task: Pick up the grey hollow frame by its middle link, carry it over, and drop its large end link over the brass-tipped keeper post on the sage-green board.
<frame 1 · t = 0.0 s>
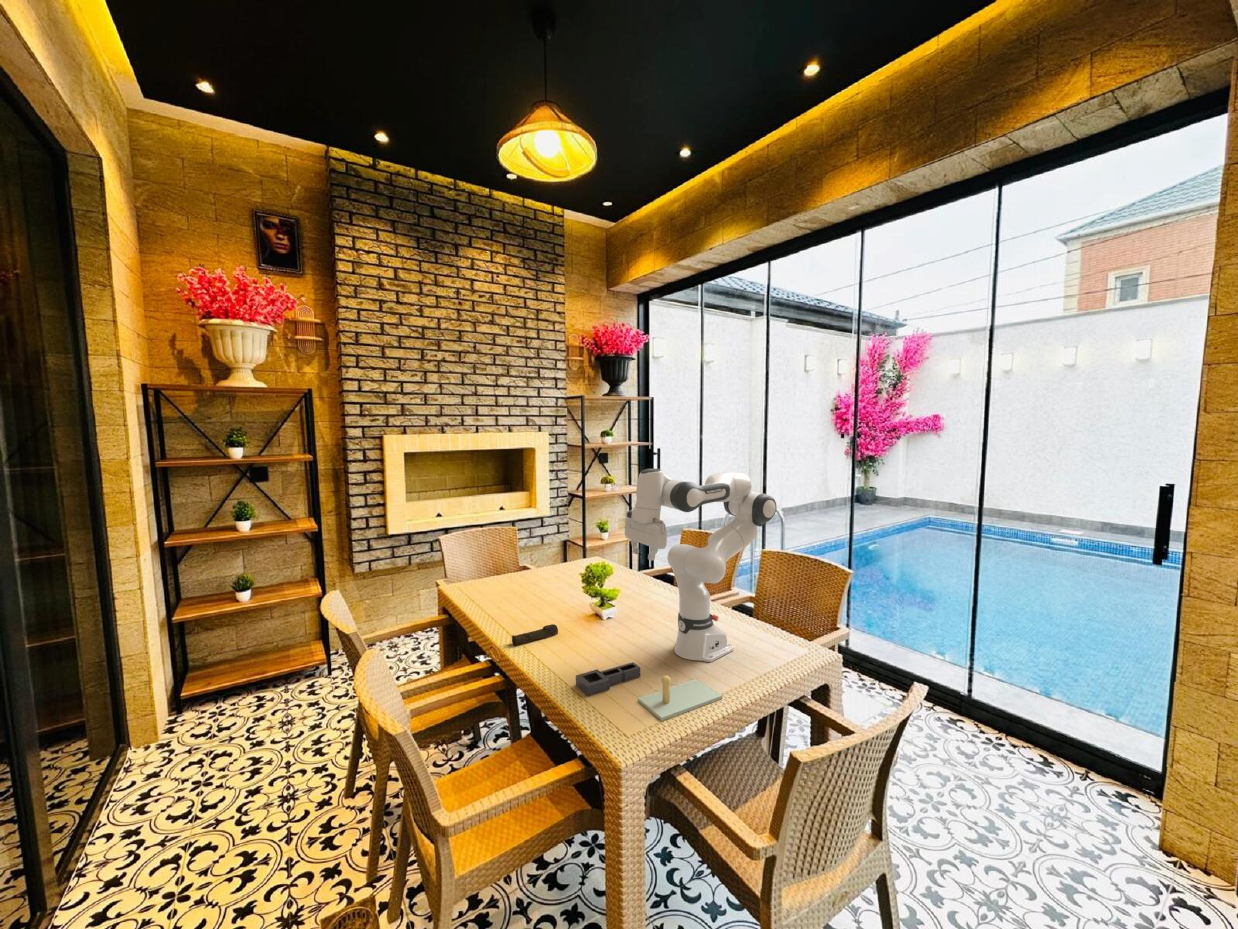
hand: (643, 556, 169), 39 cm above the table, tool pointing down, fingers open, 8 cm apart
grey hollow frame: (592, 687, 158), on the table
hand tool: (535, 640, 194), on the table
keeper board: (680, 699, 151), on the table
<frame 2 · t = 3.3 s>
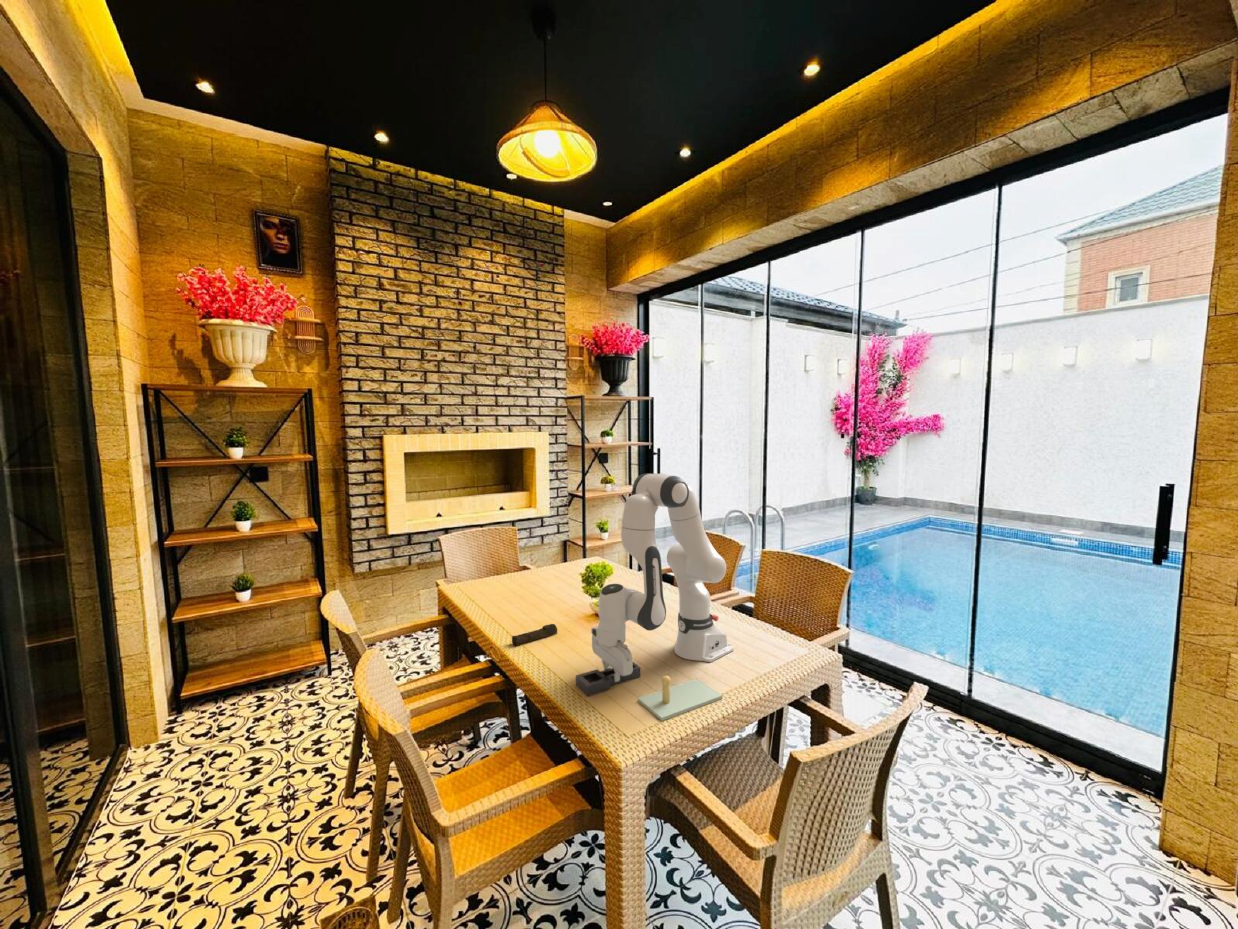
hand: (611, 676, 162), 2 cm above the table, tool pointing down, fingers closed on grey hollow frame, 4 cm apart
grey hollow frame: (592, 687, 158), on the table, touching gripper
everything else where it was.
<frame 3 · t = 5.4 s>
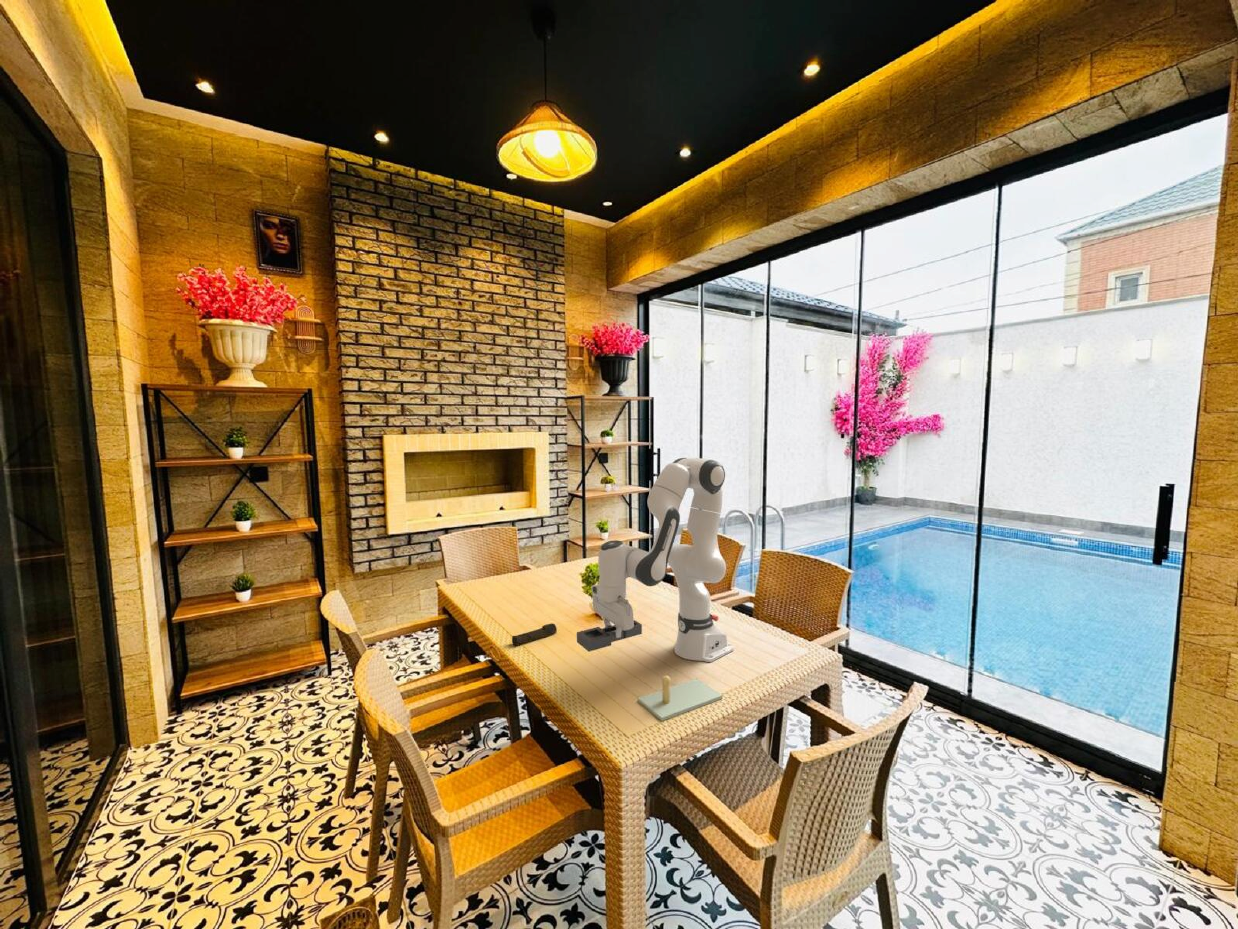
hand: (612, 633, 161), 16 cm above the table, tool pointing down, fingers closed on grey hollow frame, 4 cm apart
grey hollow frame: (593, 643, 157), point 14 cm above the table, touching gripper
everything else where it was.
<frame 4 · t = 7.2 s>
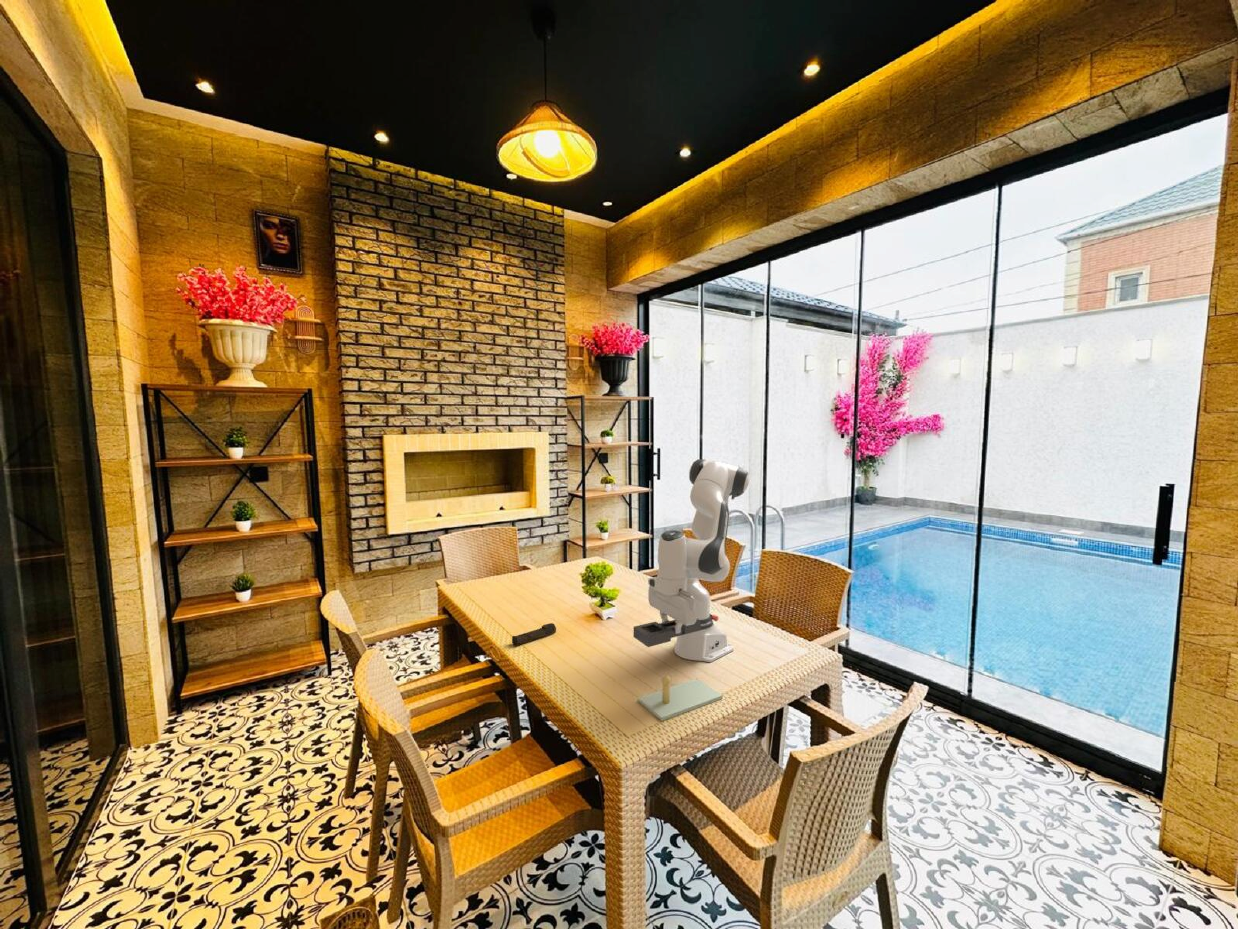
hand: (671, 629, 152), 21 cm above the table, tool pointing down, fingers closed on grey hollow frame, 4 cm apart
grey hollow frame: (651, 639, 149), point 19 cm above the table, touching gripper
everything else where it was.
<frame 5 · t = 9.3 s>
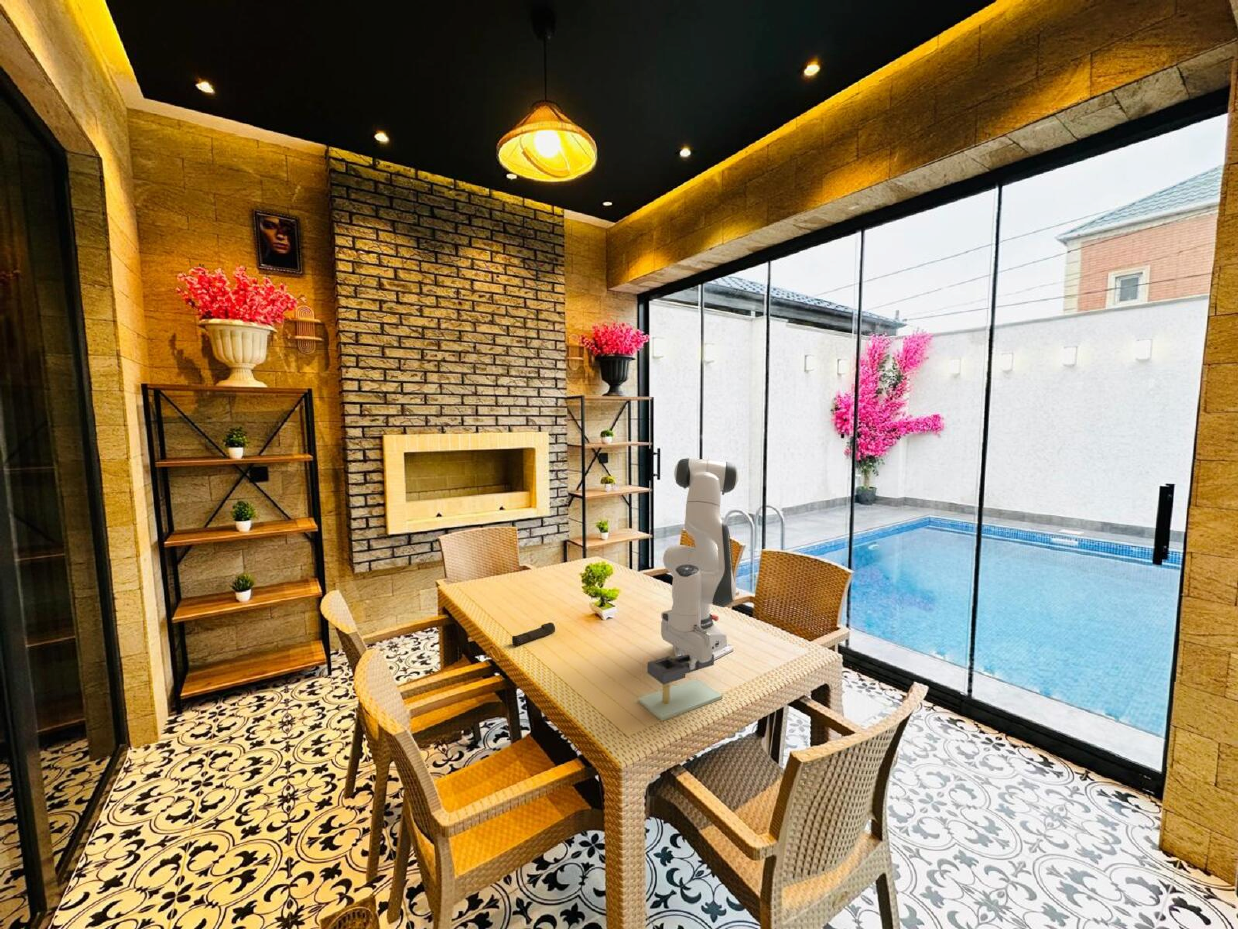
hand: (685, 664, 151), 11 cm above the table, tool pointing down, fingers closed on grey hollow frame, 4 cm apart
grey hollow frame: (666, 675, 147), point 9 cm above the table, touching gripper
when the fingers open (4 cm above the table, at t = 11.1 s): grey hollow frame stays where it is, resting on keeper board.
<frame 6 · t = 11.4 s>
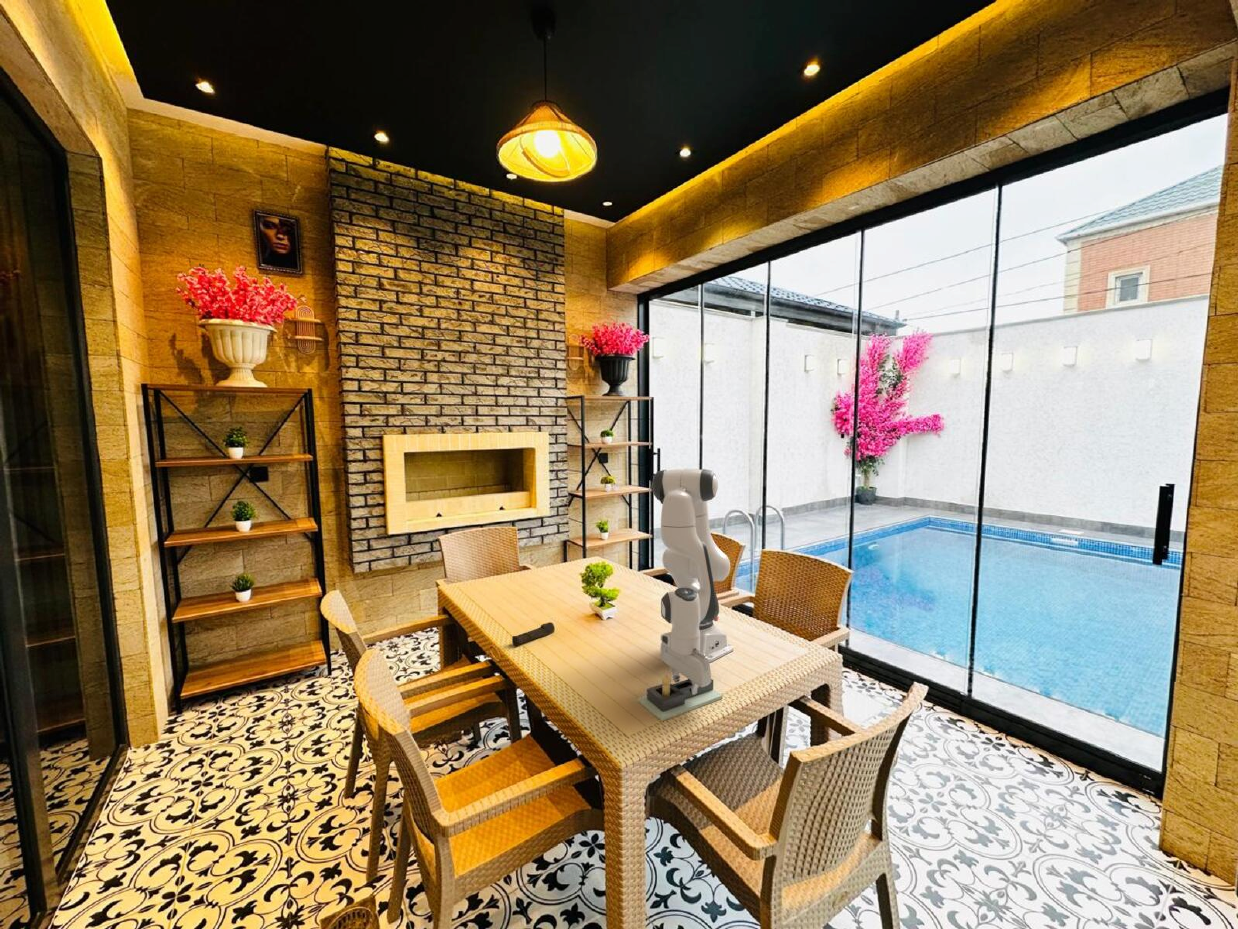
hand: (684, 687, 152), 4 cm above the table, tool pointing down, fingers open, 7 cm apart
grey hollow frame: (665, 701, 148), point 1 cm above the table, touching keeper board
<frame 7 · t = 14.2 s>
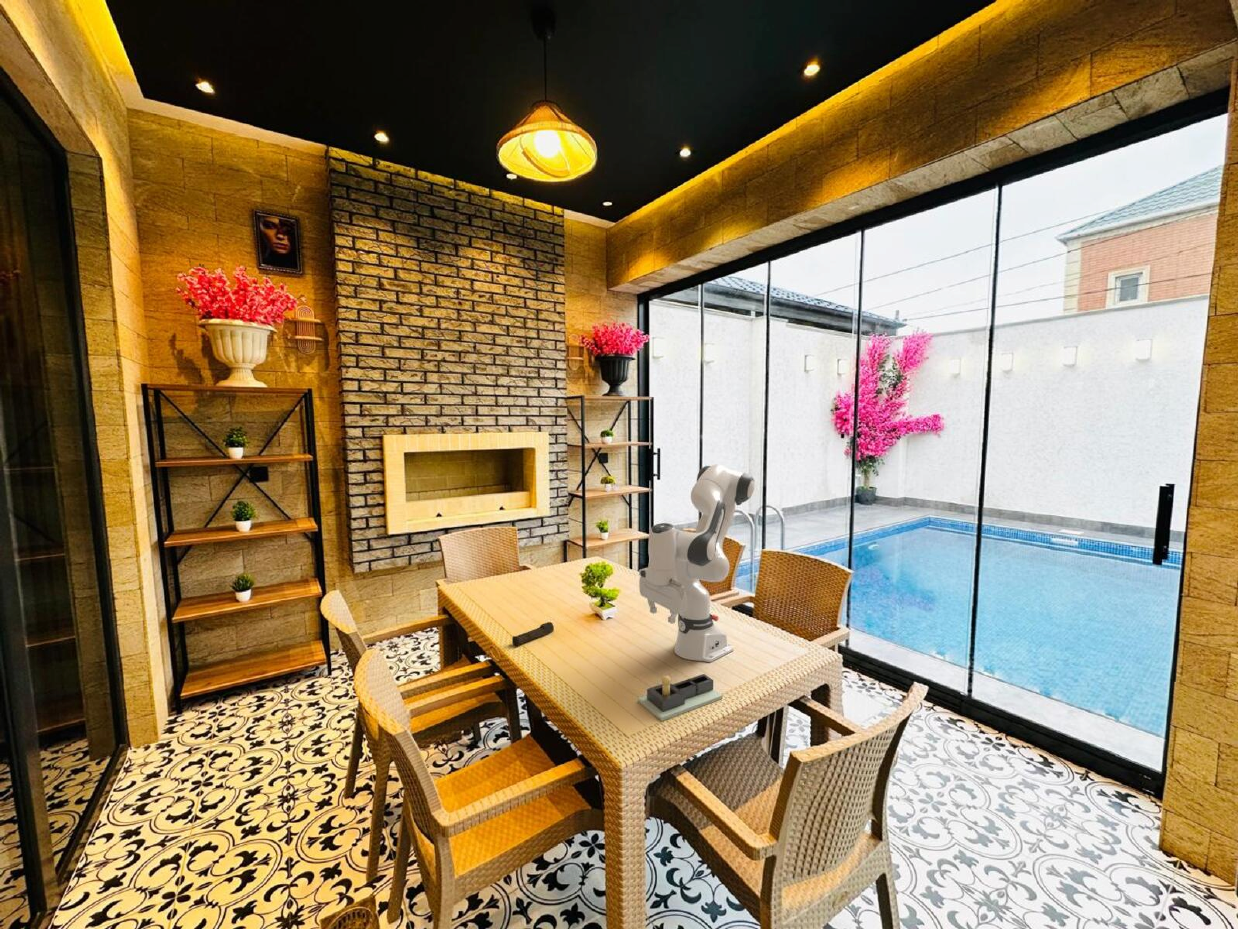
hand: (662, 617, 159), 22 cm above the table, tool pointing down, fingers open, 8 cm apart
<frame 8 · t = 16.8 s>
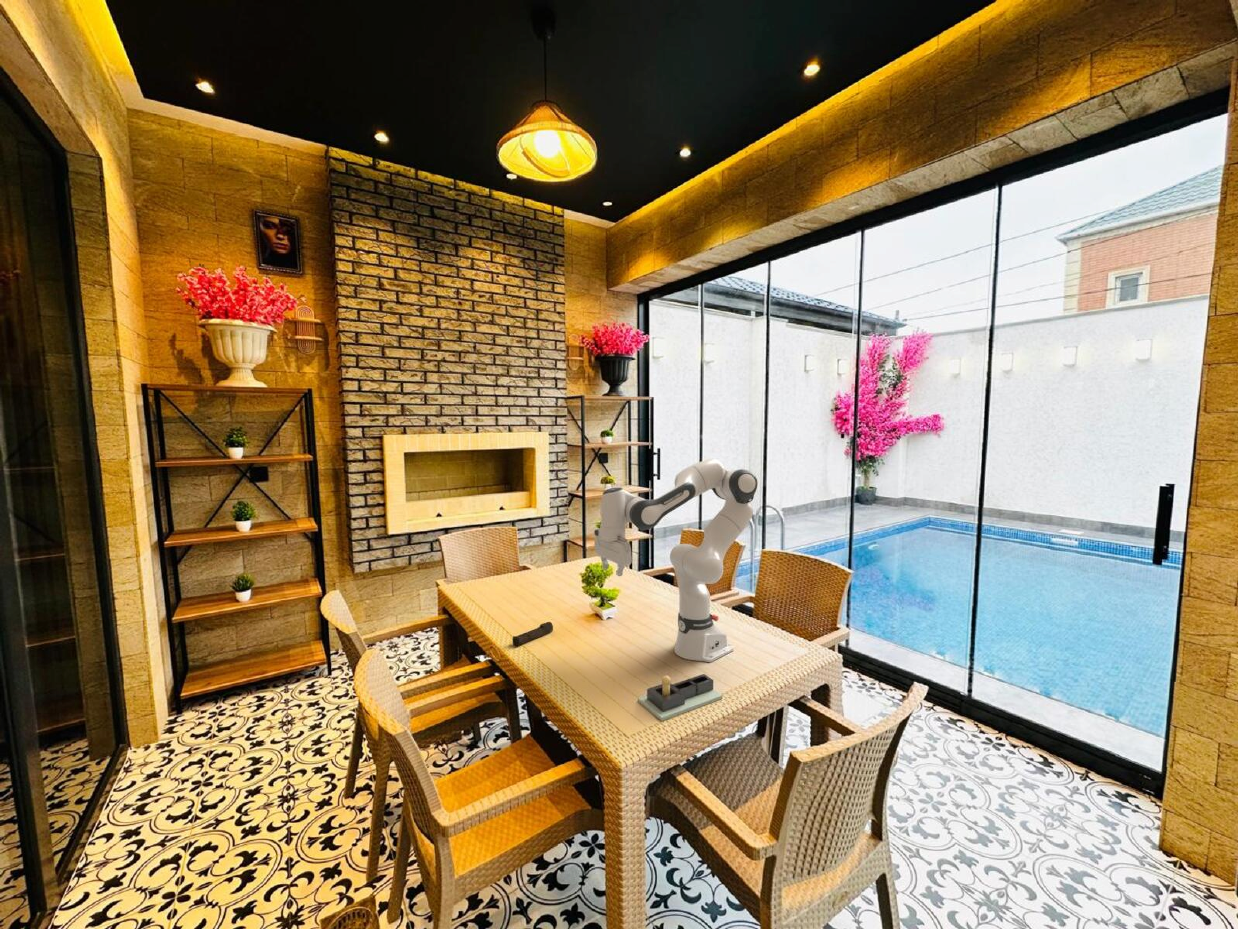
hand: (612, 572, 177), 31 cm above the table, tool pointing down, fingers open, 8 cm apart
at the end: grey hollow frame 0.1 cm from the target spot on the keeper board, point 1.0 cm above the keeper board's base; the gripper is holding nothing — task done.
